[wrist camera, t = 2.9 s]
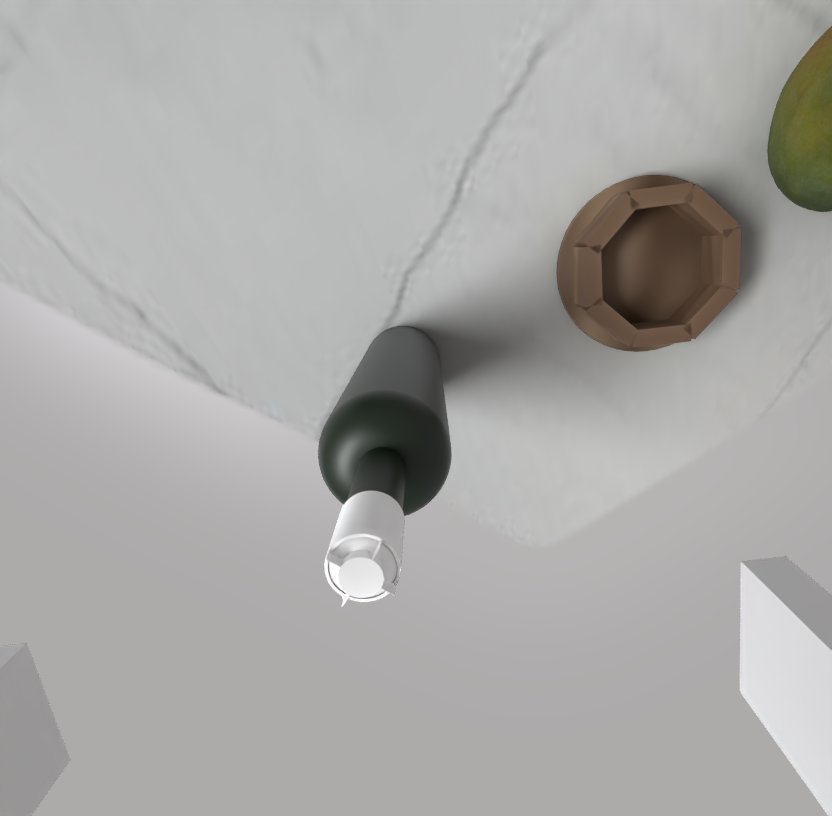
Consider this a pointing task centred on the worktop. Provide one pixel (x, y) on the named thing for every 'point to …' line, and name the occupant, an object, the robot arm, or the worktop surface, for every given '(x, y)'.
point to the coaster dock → (649, 263)
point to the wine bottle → (383, 459)
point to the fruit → (805, 131)
